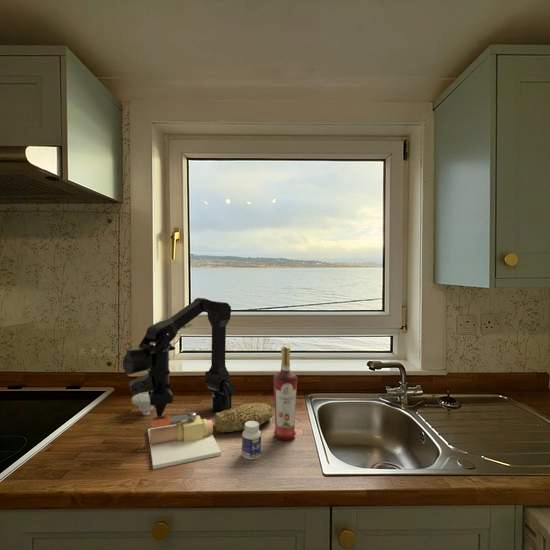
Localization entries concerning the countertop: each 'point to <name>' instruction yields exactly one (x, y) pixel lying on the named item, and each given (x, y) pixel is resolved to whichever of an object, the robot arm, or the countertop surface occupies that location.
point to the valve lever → (172, 419)
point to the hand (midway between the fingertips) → (159, 416)
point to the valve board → (182, 442)
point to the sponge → (242, 416)
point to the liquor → (285, 398)
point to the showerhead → (142, 402)
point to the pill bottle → (251, 440)
